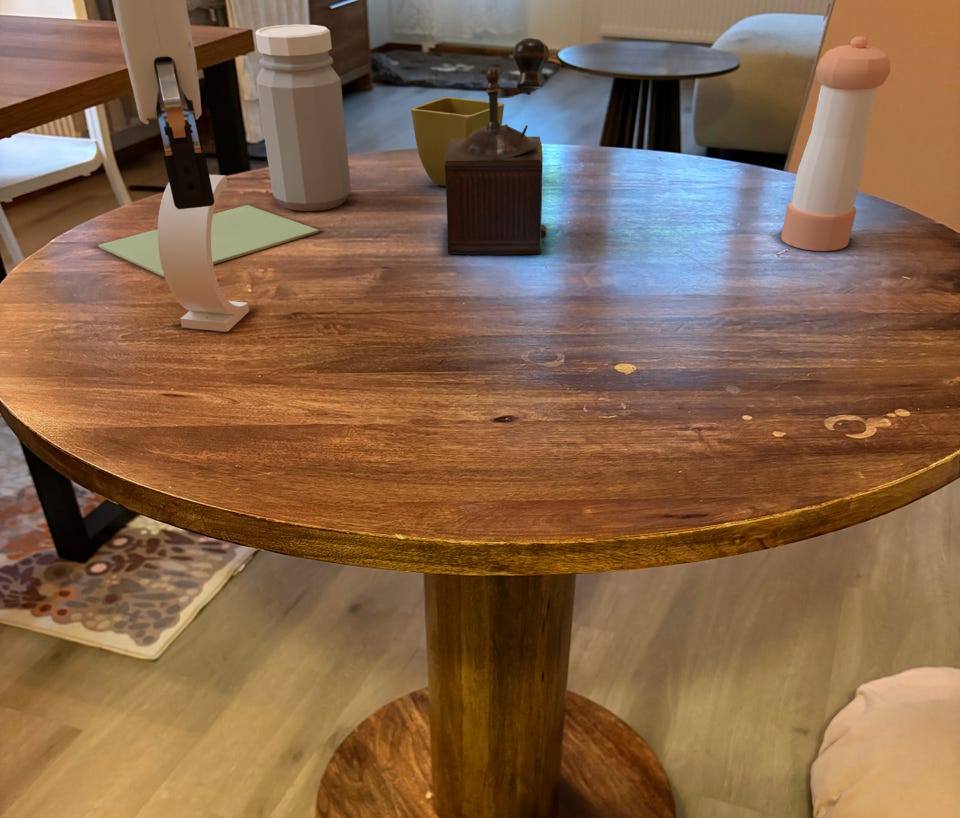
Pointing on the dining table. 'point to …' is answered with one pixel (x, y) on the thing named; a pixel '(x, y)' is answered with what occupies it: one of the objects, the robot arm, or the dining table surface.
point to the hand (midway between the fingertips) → (192, 189)
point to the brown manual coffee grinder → (498, 174)
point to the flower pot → (446, 129)
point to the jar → (302, 117)
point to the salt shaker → (835, 148)
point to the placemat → (217, 237)
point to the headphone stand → (194, 263)
